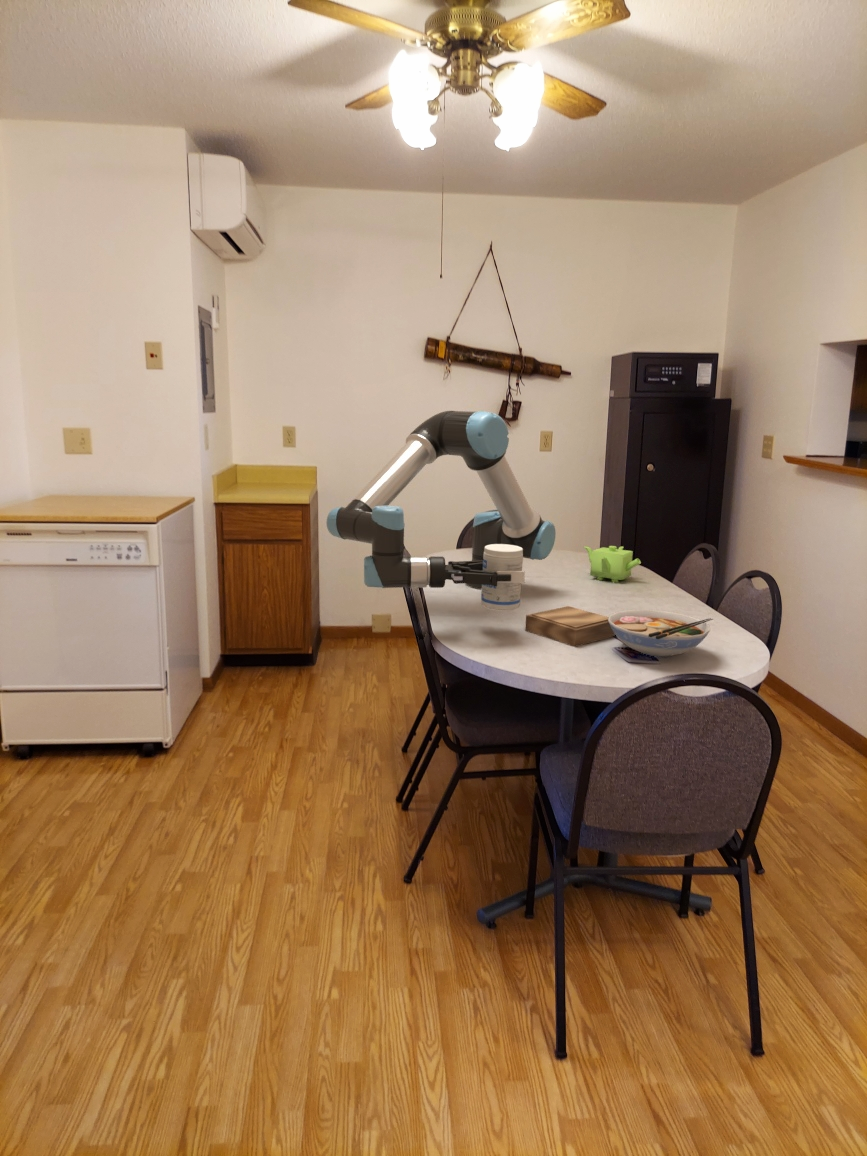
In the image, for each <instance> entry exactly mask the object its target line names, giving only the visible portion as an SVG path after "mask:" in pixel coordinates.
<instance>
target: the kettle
mask: <svg viewBox="0 0 867 1156" xmlns="http://www.w3.org/2000/svg"><path fill="white" fill-rule="evenodd" d="M582 547H583V548H584V549H585V550H586V551H587V553H588V560H589V563H590V569H589V570H590V573H589V576H593V577H596V579H595V580H596V581H603V580H604V578H606V579H611V583H613V582H614V583H613V584H618V582H619V580H620V581H625V579H626V578H629V577H630V576H631V575H632V569H633V568H635V567H638V566H639V565H640V564H641V563H642V562H641V560H640V559H639V558H635V559H634V560H633V554H634V553H633V552H634V551H633V550H626V549H624V545H623V546H619V547H617V546H616V545H609V546H608V547H600V548H597V549H593V550H592V548H591V547H590V546H582Z"/></svg>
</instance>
